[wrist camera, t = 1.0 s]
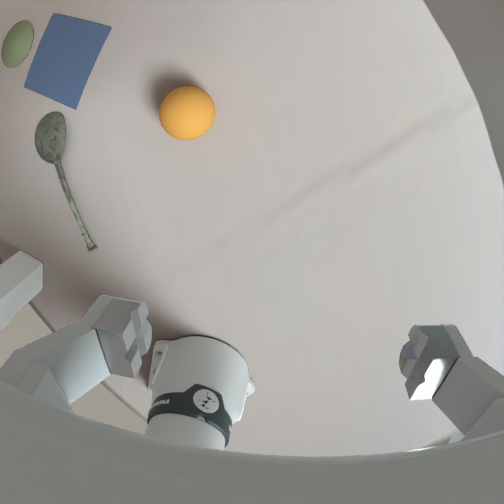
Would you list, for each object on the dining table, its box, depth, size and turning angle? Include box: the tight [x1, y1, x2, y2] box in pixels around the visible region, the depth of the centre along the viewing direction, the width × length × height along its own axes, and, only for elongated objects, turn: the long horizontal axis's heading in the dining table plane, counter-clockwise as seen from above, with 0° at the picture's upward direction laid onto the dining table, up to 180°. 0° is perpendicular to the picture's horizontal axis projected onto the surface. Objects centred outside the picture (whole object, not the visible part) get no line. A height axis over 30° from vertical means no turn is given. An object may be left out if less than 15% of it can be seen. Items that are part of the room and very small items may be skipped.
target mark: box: [24, 13, 111, 109], centre depth 30 cm, size 12×12×1 cm
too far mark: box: [2, 21, 34, 67], centre depth 28 cm, size 8×8×1 cm
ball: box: [159, 86, 215, 140], centre depth 31 cm, size 6×6×6 cm
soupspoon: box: [35, 111, 97, 252], centre depth 38 cm, size 22×3×7 cm
